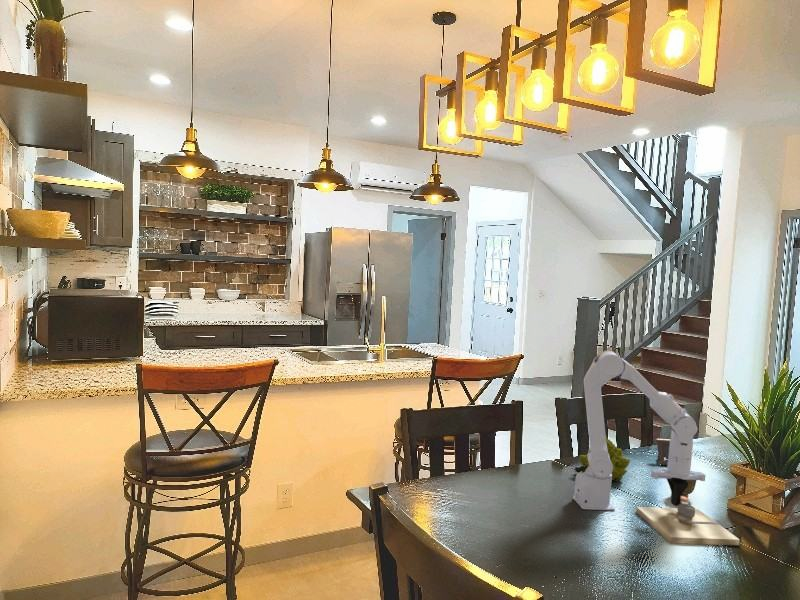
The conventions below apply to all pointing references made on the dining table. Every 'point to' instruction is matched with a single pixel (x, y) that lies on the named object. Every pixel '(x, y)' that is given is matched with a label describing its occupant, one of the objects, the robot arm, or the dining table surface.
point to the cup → (689, 488)
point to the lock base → (686, 527)
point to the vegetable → (616, 459)
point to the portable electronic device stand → (663, 450)
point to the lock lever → (685, 508)
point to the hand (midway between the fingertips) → (675, 504)
